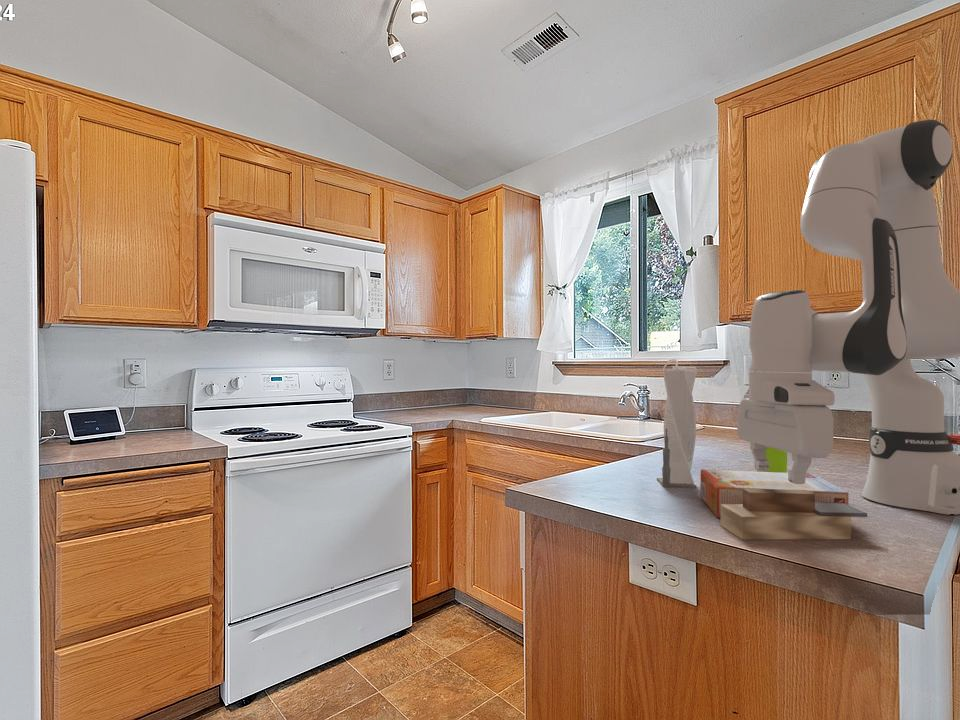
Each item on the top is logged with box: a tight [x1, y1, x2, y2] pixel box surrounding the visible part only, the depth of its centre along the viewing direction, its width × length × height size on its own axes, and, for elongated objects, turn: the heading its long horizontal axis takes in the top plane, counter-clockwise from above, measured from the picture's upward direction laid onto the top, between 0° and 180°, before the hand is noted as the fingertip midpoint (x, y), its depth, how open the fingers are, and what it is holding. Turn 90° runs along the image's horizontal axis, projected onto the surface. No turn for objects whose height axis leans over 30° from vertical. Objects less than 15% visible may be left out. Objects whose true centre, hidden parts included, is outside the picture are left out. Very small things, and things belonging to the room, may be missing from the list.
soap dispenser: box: [756, 447, 788, 473], centre depth 116 cm, size 6×7×20 cm
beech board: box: [720, 504, 852, 540], centre depth 84 cm, size 17×7×4 cm, turn 91°
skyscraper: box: [656, 359, 698, 489], centre depth 118 cm, size 8×8×28 cm
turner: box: [743, 489, 868, 518], centre depth 84 cm, size 17×6×3 cm, turn 86°
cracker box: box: [699, 469, 849, 519], centre depth 96 cm, size 14×6×21 cm
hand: (778, 476), depth 84 cm, fingers open, 8 cm apart
